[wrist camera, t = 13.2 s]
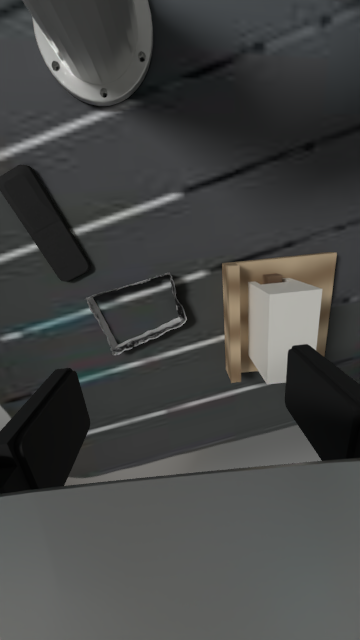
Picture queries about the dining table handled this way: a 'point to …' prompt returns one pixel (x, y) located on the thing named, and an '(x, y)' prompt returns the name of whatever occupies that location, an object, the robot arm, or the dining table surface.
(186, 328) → the dining table surface
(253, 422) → the dining table surface
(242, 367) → the cleat board
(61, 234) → the remote control
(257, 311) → the light grey block
